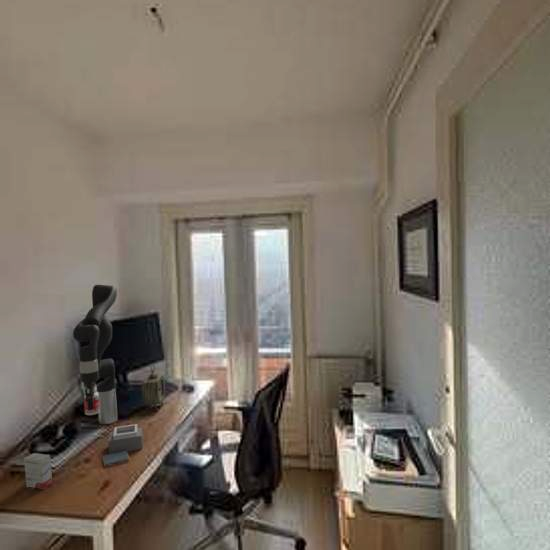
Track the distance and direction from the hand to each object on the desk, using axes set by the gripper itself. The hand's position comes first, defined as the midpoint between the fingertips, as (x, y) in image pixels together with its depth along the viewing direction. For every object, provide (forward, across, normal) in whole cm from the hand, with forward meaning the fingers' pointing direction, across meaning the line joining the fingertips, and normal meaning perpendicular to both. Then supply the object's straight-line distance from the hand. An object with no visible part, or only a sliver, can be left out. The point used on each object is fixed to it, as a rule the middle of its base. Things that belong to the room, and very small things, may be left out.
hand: (92, 407), depth 192 cm
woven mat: (+22, -9, -9) cm, 26 cm away
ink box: (+22, -21, +18) cm, 35 cm away
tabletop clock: (+22, +50, -25) cm, 60 cm away
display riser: (+21, +2, -13) cm, 25 cm away
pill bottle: (+3, 0, 0) cm, 3 cm away
